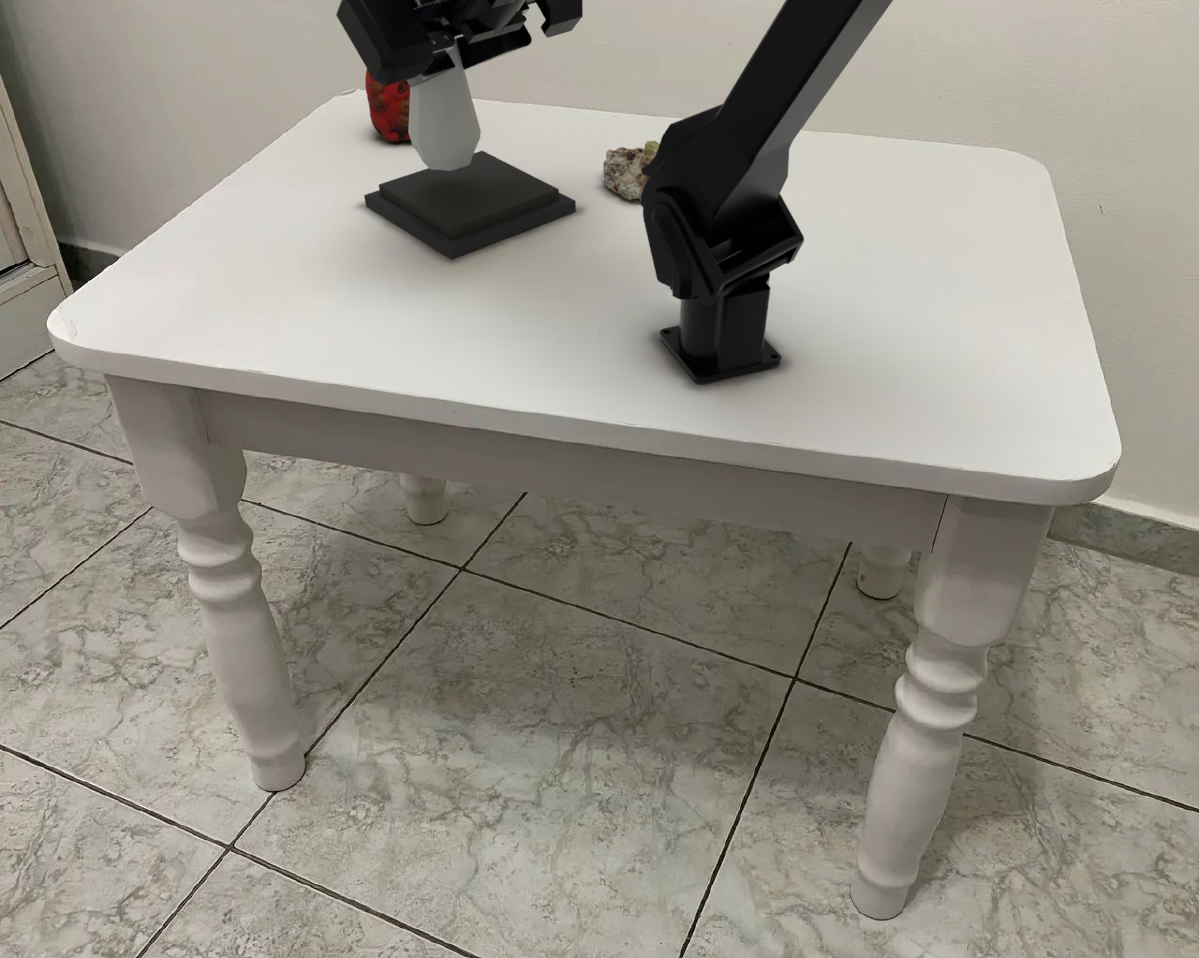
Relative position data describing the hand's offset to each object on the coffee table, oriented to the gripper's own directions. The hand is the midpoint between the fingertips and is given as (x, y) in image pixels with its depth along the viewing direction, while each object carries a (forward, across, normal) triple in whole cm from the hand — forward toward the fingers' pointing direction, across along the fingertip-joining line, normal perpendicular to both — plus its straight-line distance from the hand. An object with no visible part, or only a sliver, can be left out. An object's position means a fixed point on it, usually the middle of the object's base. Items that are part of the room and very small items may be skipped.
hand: (428, 75), depth 80 cm
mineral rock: (+1, -16, +15) cm, 23 cm away
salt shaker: (+4, 0, +6) cm, 7 cm away
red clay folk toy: (+20, -8, -4) cm, 21 cm away
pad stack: (+7, -2, +9) cm, 12 cm away
